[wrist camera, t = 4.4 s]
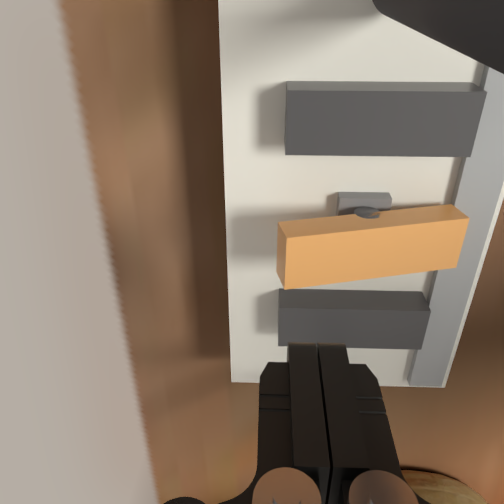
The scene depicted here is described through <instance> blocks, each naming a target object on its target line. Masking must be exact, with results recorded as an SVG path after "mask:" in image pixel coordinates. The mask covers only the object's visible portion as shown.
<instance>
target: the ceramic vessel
mask: <svg viewBox="0 0 504 504" xmlns="http://www.w3.org/2000/svg"><path fill="white" fill-rule="evenodd" d="M401 472H402V475H403V477H404V479H405V480H406V482H407V483H408V485H409V486H410V487H411V488H412V490H413V491H414V492H415V493H416V494H418V495H419V496H420V497H421V498H423V499H424V500H426V501H427V502H429V503H431V504H488V503H487V502H486V501H485V500H484V498H483V497H482V496H481V495H480V494H478V493H477V492H476V491H474V490H473V489H472V488H470V487H469V486H467V485H466V484H464V483H462V482H460V481H458V480H455V479H452V478H449V477H446V476H443V475H441V474H435V473H428V472H421V471H412V470H401Z"/></svg>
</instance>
